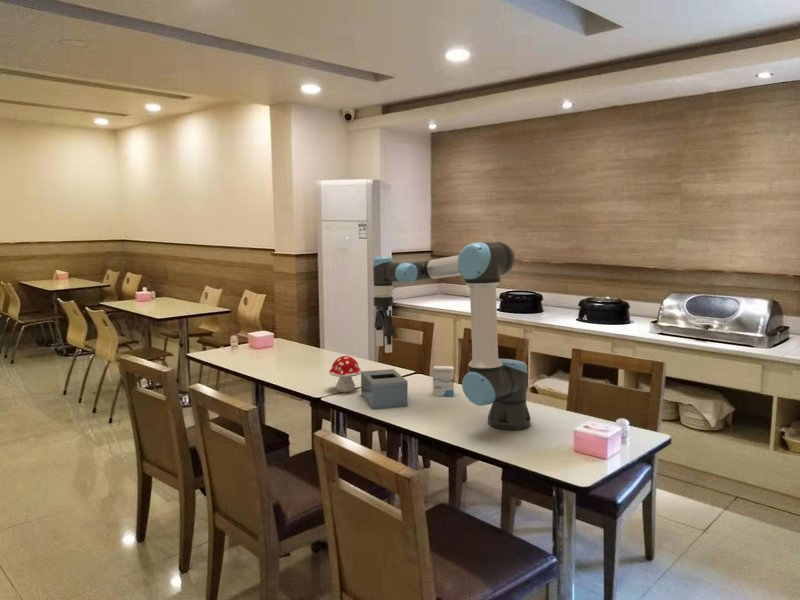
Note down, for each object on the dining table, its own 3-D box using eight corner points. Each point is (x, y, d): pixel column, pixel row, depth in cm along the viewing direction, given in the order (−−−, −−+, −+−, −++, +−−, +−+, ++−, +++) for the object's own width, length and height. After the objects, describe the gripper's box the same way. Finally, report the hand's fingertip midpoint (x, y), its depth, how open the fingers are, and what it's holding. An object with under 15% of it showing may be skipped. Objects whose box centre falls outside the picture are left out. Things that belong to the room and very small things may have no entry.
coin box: (407, 406, 231) (407, 381, 230) (372, 409, 227) (372, 384, 226) (393, 392, 250) (393, 369, 249) (361, 394, 246) (361, 371, 245)
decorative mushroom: (323, 393, 248) (322, 358, 246) (338, 384, 261) (337, 351, 259) (353, 396, 243) (352, 361, 241) (367, 388, 256) (366, 354, 254)
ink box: (453, 393, 249) (454, 365, 247) (453, 396, 244) (453, 368, 242) (433, 392, 250) (433, 365, 248) (432, 396, 245) (433, 368, 243)
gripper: (401, 299, 222) (402, 354, 225) (384, 292, 246) (385, 342, 248) (382, 300, 220) (382, 356, 223) (366, 293, 244) (367, 344, 246)
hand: (384, 349), depth 236 cm, fingers open, 13 cm apart
